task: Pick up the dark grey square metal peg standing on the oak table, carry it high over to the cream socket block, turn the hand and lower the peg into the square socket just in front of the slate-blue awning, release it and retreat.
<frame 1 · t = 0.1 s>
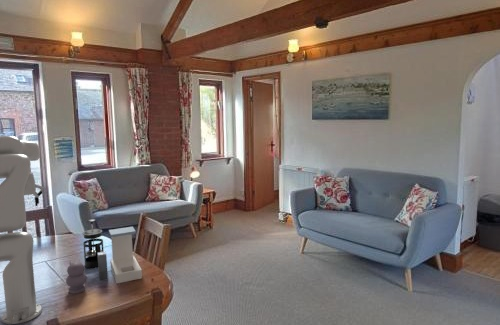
hand: (24, 206, 171), 31 cm above the table, fingers open, 9 cm apart
french press: (95, 265, 180), on the table
cat figurine: (77, 290, 155), on the table
peg: (103, 278, 165), on the table
awning socket: (125, 272, 171), on the table
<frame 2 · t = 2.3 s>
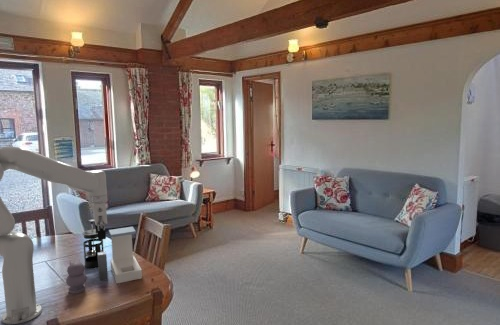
hand: (100, 235, 163), 20 cm above the table, fingers open, 9 cm apart
nothing on the table moved.
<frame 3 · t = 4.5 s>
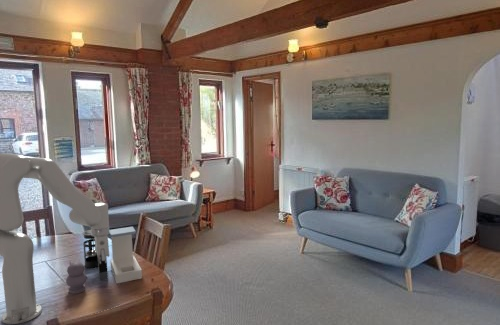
hand: (102, 269, 165), 4 cm above the table, fingers closed on peg, 3 cm apart
peg: (103, 278, 165), on the table, touching gripper
everything else where it was.
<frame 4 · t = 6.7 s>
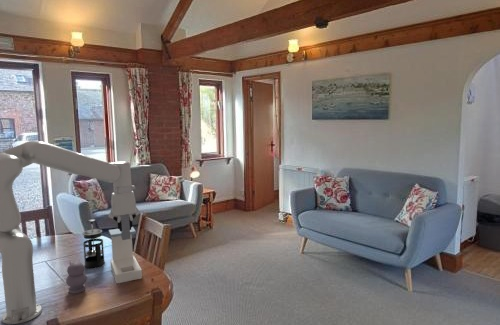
hand: (125, 229, 163), 23 cm above the table, fingers closed on peg, 3 cm apart
peg: (125, 238, 164), point 18 cm above the table, touching gripper
everything else where it was.
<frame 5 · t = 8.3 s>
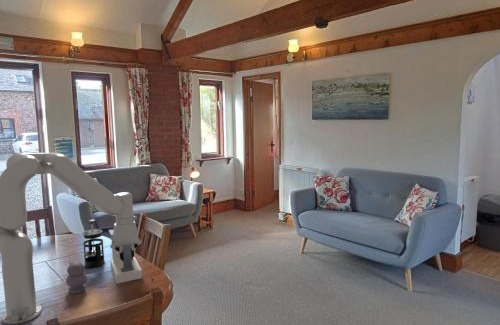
hand: (127, 259, 165), 9 cm above the table, fingers closed on peg, 3 cm apart
peg: (127, 267, 166), point 4 cm above the table, touching gripper
everything else where it was.
when the fingers open (5 cm above the table, at t = 9.2 s): peg stays where it is, resting in awning socket.
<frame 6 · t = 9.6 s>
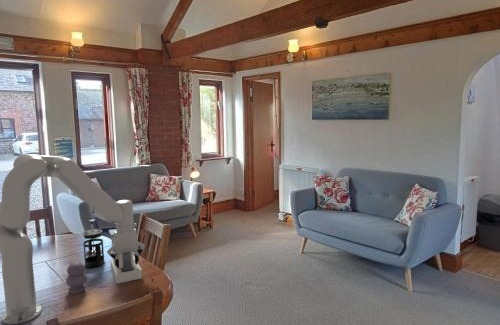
hand: (127, 265, 165), 6 cm above the table, fingers open, 7 cm apart
peg: (127, 277, 166), resting in awning socket
everything else where it was.
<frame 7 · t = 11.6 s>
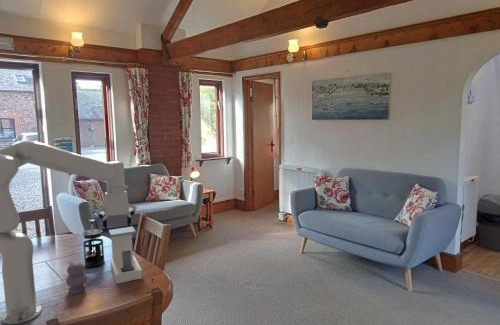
hand: (117, 226, 163), 24 cm above the table, fingers open, 9 cm apart
nothing on the table moved.
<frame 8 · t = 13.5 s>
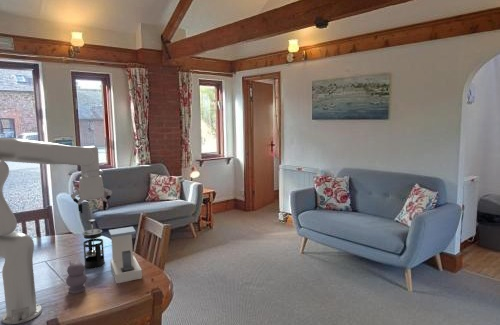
hand: (93, 211, 165), 30 cm above the table, fingers open, 9 cm apart
nothing on the table moved.
at the end: peg 0.1 cm from the target spot on the awning socket, point 0.0 cm above the awning socket's base; peg tilted 0°; the gripper is holding nothing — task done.
